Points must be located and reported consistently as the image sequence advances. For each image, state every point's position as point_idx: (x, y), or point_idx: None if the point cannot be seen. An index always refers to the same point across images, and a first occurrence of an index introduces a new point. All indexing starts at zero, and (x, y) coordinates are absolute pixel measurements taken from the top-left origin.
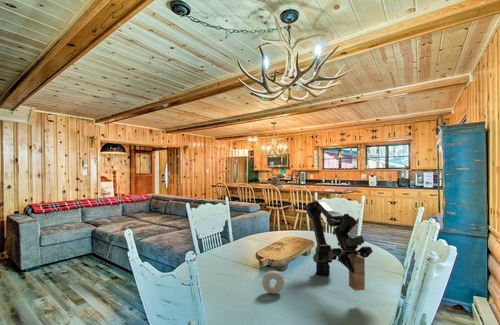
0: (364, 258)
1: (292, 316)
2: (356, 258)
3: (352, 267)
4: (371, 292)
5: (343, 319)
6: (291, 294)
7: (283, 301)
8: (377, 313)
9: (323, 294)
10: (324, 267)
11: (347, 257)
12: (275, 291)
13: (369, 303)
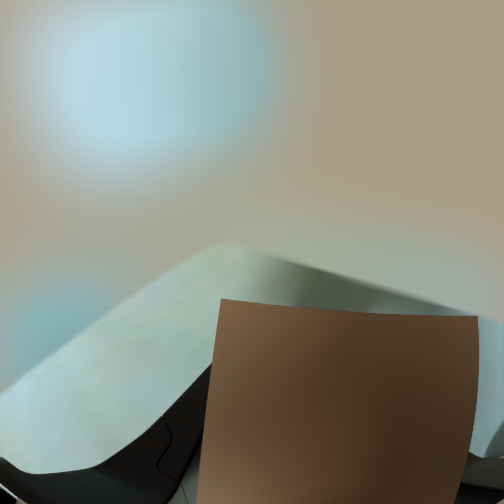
0: (224, 302)
1: (497, 340)
2: (448, 331)
3: None
4: (109, 433)
5: (387, 295)
6: None
7: (492, 422)
8: (226, 290)
9: None
10: None
11: (474, 472)
12: (500, 457)
13: (195, 367)
